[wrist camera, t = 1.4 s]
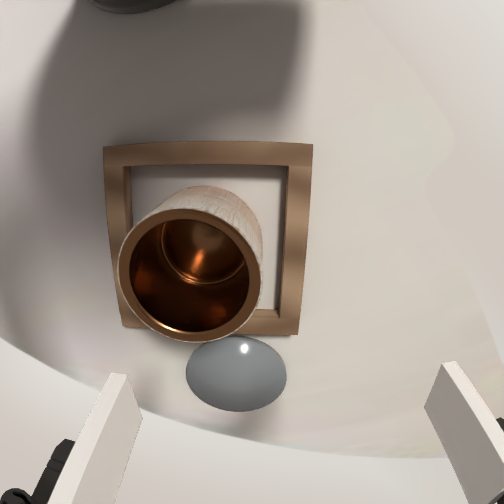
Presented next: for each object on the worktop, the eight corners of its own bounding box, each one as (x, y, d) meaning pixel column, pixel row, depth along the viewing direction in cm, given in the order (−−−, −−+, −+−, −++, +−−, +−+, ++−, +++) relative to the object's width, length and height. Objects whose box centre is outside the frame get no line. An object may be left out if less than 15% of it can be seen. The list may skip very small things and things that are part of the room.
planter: (139, 200, 30) (95, 227, 21) (247, 172, 29) (243, 186, 20) (172, 298, 33) (146, 352, 24) (272, 278, 32) (278, 331, 23)
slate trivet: (183, 332, 35) (181, 336, 34) (290, 336, 35) (290, 340, 34) (191, 404, 39) (191, 408, 38) (281, 408, 39) (282, 412, 38)
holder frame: (111, 145, 28) (103, 146, 26) (309, 144, 28) (313, 144, 26) (127, 317, 34) (122, 325, 33) (295, 325, 34) (297, 334, 33)
